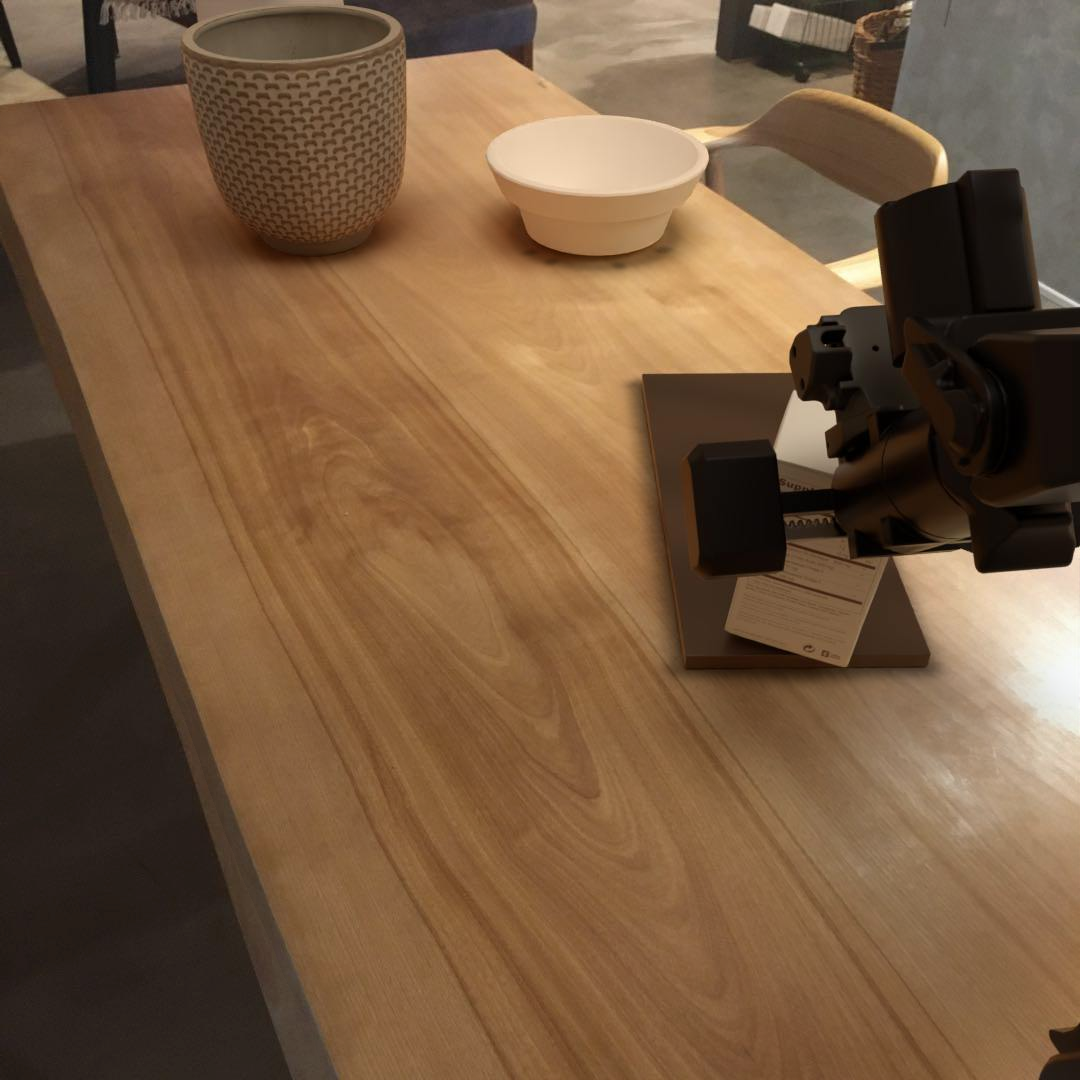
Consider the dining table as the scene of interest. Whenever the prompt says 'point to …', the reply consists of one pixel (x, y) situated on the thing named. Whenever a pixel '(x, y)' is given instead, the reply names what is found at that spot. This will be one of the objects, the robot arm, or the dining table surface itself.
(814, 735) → the dining table surface
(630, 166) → the bowl
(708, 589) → the board
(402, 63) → the planter
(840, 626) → the white packaging box
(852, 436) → the robot arm
